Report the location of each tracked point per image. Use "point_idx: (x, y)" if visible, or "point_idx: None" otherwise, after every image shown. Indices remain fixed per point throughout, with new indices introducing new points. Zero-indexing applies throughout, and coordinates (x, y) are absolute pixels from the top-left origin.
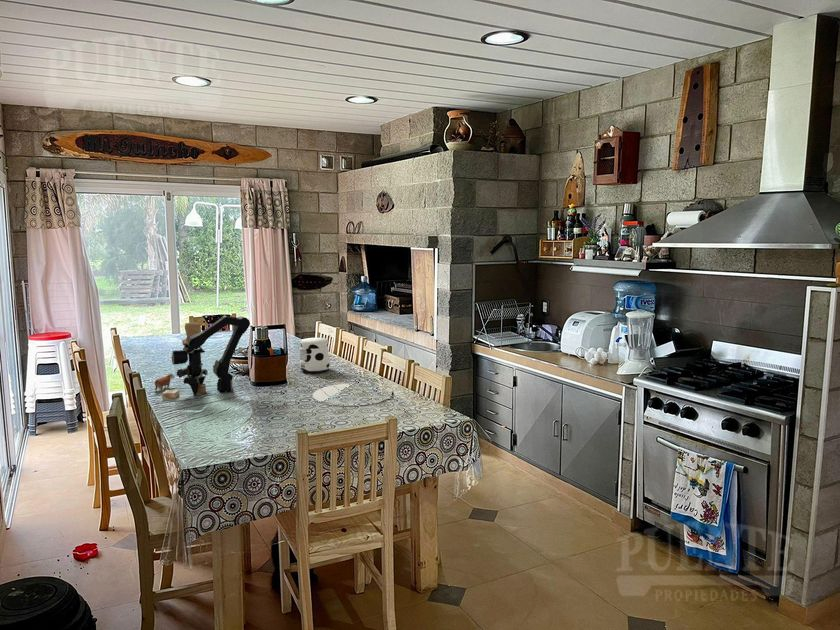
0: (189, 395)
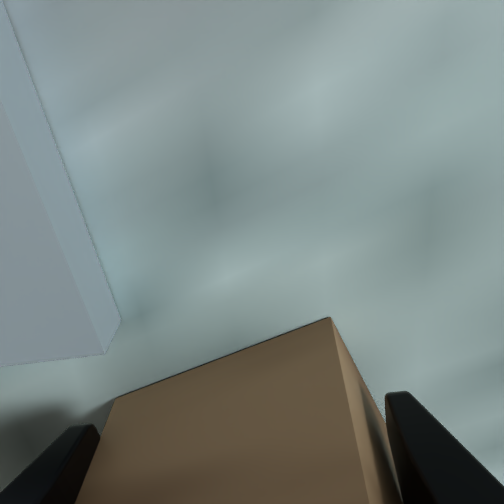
0: (6, 347)
